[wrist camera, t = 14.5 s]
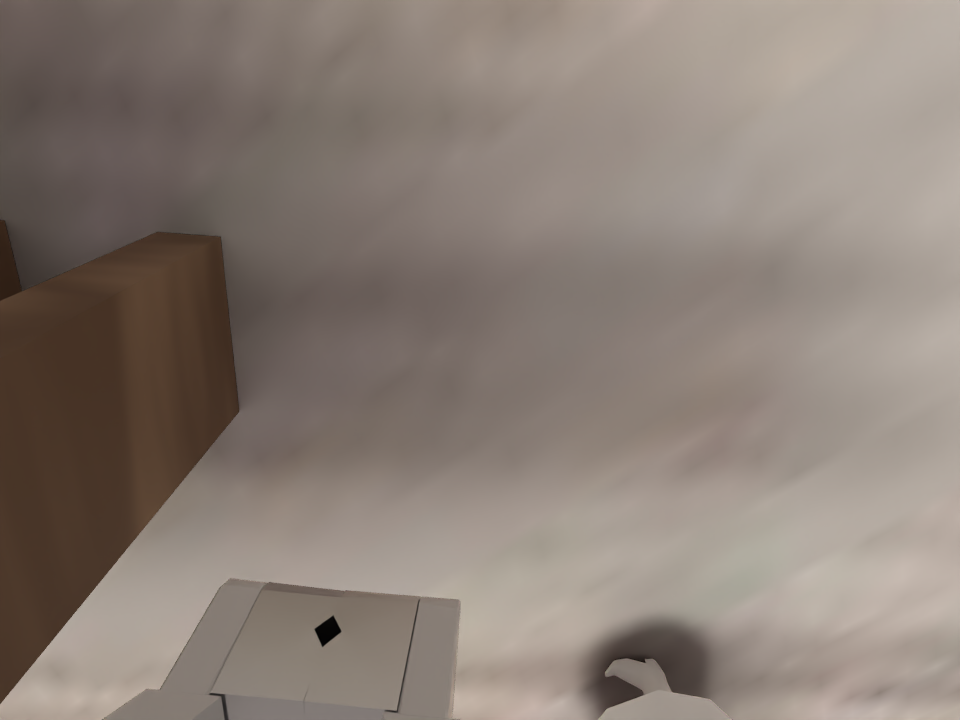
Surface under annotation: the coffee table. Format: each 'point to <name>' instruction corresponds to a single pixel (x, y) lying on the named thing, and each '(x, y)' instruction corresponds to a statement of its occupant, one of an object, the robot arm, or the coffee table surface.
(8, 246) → the domino
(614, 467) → the coffee table surface
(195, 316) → the domino
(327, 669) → the robot arm
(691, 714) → the woman figurine
